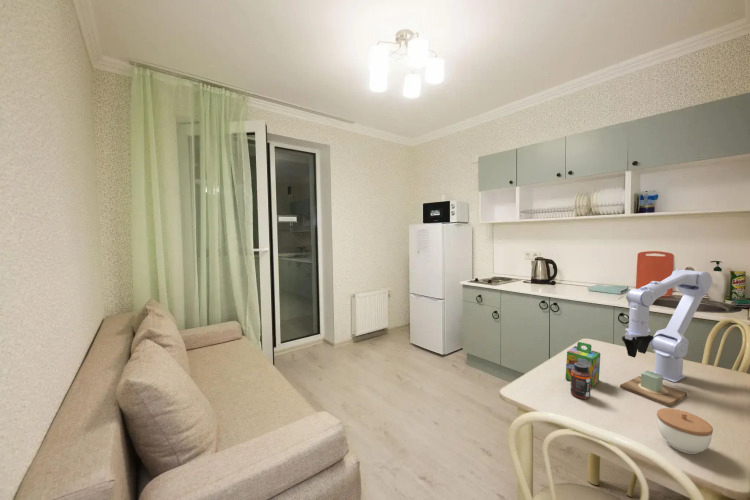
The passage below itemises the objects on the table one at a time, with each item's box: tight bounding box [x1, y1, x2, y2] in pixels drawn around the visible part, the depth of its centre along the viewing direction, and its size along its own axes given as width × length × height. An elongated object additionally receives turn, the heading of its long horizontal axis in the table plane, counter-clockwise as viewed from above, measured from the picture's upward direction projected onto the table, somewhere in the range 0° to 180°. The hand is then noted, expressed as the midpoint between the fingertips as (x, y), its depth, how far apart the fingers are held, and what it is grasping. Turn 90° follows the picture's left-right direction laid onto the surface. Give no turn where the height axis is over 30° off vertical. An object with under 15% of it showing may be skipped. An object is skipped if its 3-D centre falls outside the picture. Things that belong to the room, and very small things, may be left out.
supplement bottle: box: [570, 363, 592, 400], centre depth 110 cm, size 6×6×11 cm
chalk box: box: [565, 341, 601, 389], centre depth 120 cm, size 9×9×15 cm
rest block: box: [640, 370, 664, 392], centre depth 111 cm, size 4×4×5 cm
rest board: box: [619, 375, 688, 408], centre depth 111 cm, size 14×14×1 cm
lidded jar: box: [656, 407, 714, 455], centre depth 84 cm, size 11×11×9 cm
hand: (636, 354), depth 119 cm, fingers open, 7 cm apart
